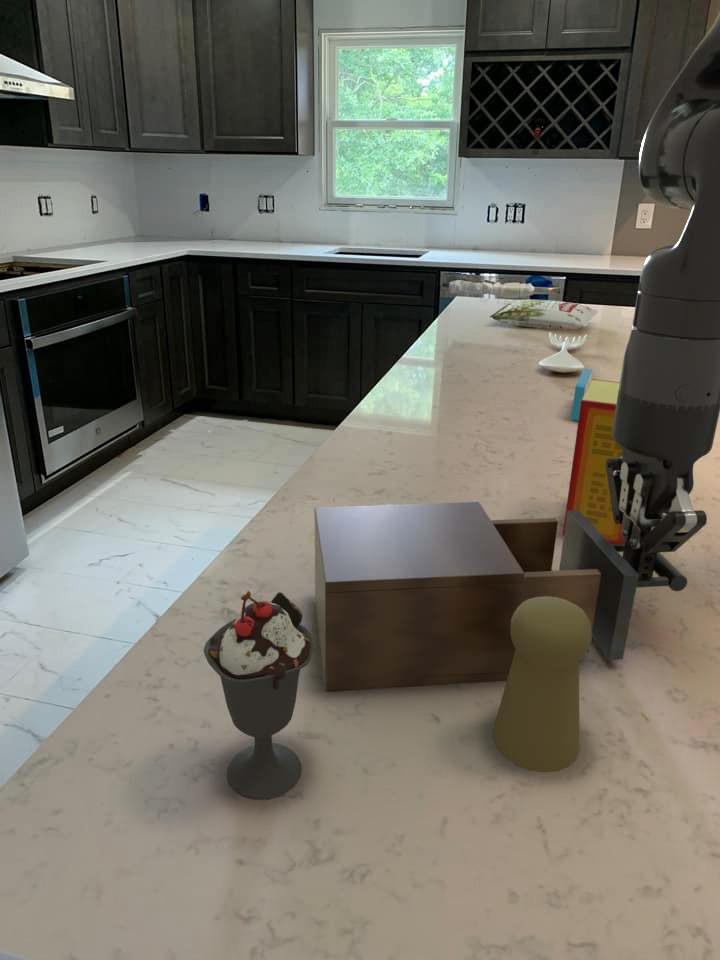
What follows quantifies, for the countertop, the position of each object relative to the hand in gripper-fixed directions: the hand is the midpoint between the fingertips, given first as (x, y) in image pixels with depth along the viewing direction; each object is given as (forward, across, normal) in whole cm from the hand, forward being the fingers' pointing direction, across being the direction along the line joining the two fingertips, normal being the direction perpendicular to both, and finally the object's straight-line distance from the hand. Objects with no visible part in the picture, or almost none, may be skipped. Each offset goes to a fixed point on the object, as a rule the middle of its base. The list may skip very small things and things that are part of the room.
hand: (634, 582), depth 63 cm
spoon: (+5, +98, -32) cm, 103 cm away
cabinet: (+5, 0, +20) cm, 20 cm away
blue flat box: (+5, +62, -21) cm, 66 cm away
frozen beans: (+5, +138, -42) cm, 144 cm away
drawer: (+4, 0, +7) cm, 8 cm away
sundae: (+5, -14, +32) cm, 35 cm away
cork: (+5, -13, +13) cm, 19 cm away
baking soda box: (+5, +20, -6) cm, 21 cm away
